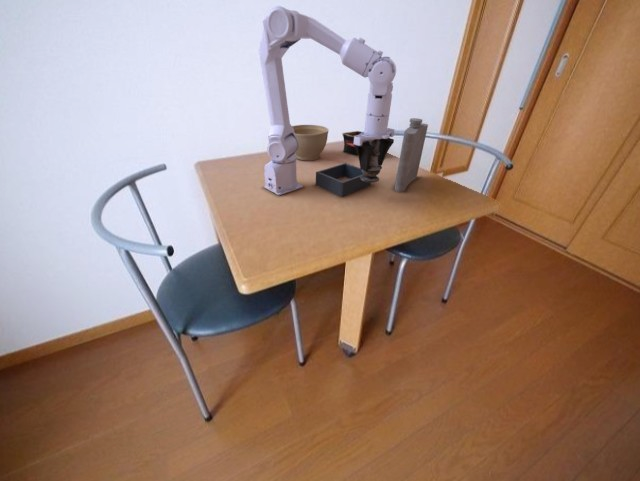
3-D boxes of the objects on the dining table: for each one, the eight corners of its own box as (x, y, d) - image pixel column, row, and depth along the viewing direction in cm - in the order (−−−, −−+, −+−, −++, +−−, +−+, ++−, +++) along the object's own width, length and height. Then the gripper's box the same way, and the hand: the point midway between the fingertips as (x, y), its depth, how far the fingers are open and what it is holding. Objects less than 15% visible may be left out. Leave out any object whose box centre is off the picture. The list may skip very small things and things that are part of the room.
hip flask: (402, 192, 89) (415, 124, 77) (390, 189, 90) (401, 122, 79) (417, 177, 100) (431, 115, 89) (406, 174, 102) (418, 114, 90)
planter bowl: (305, 148, 125) (305, 122, 119) (335, 156, 117) (336, 129, 110) (279, 157, 114) (277, 129, 108) (309, 166, 106) (309, 136, 100)
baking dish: (361, 149, 132) (359, 127, 127) (392, 153, 120) (392, 128, 115) (338, 158, 125) (335, 134, 120) (369, 162, 112) (367, 136, 108)
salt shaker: (379, 175, 83) (385, 132, 77) (381, 183, 78) (387, 138, 72) (359, 174, 84) (363, 131, 77) (359, 182, 79) (364, 137, 72)
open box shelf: (342, 197, 85) (343, 183, 83) (315, 185, 92) (315, 171, 89) (370, 185, 93) (372, 172, 90) (344, 175, 100) (345, 162, 97)
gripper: (372, 120, 65) (365, 177, 73) (407, 113, 73) (398, 165, 81) (349, 115, 69) (345, 170, 77) (384, 109, 78) (378, 159, 85)
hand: (371, 167), depth 79 cm, fingers closed on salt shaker, 6 cm apart
